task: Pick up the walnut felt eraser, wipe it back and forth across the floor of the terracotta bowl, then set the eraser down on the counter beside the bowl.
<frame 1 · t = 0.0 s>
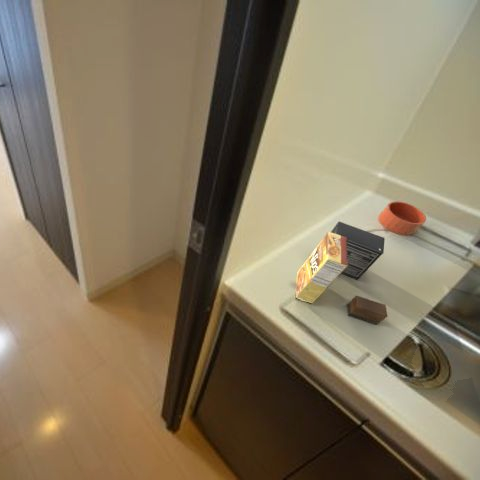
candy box: (303, 288, 80), on the countertop
small box: (337, 263, 85), on the countertop
bowl: (396, 223, 96), on the countertop
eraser: (361, 314, 75), on the countertop
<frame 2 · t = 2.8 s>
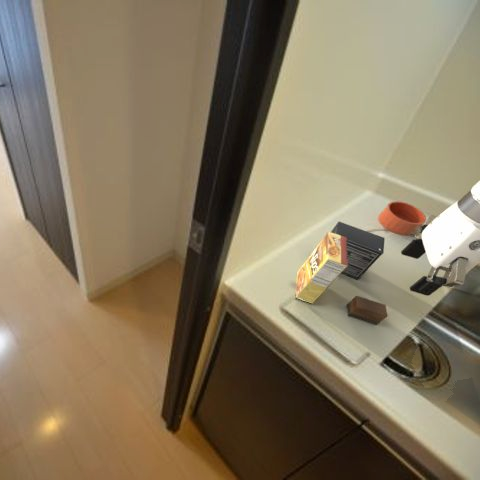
hand: (413, 272, 64), 15 cm above the countertop, tool pointing down, fingers open, 9 cm apart
nothing on the countertop moved.
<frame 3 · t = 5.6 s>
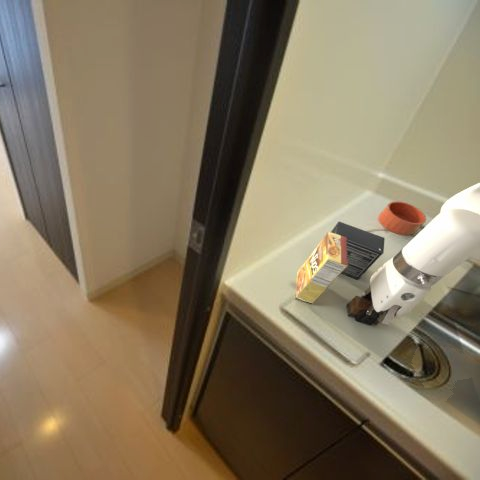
hand: (361, 314, 75), 0 cm above the countertop, tool pointing down, fingers closed on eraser, 3 cm apart
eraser: (361, 314, 75), on the countertop, touching gripper
everything else where it was.
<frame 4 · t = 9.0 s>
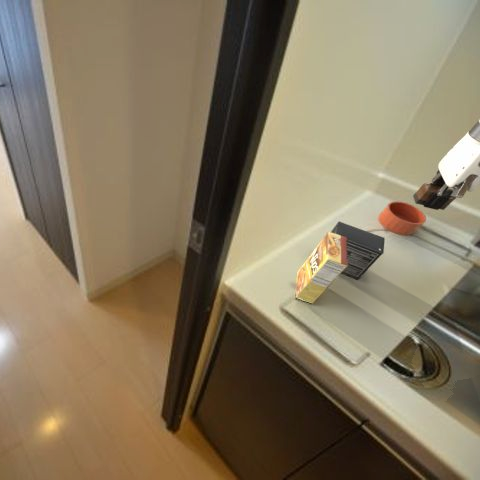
hand: (428, 202, 80), 15 cm above the countertop, tool pointing down, fingers closed on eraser, 3 cm apart
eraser: (427, 202, 80), point 15 cm above the countertop, touching gripper
everything else where it was.
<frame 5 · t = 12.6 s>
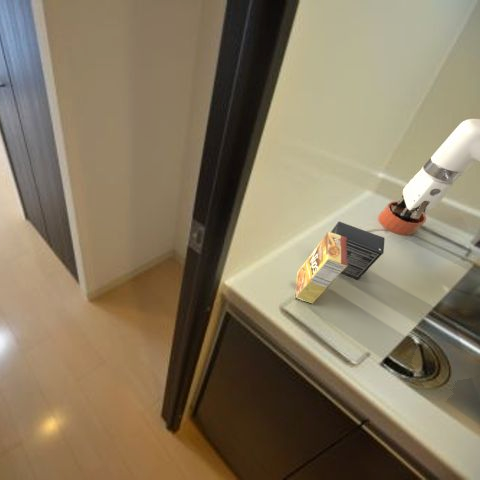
hand: (395, 220, 96), 1 cm above the countertop, tool pointing down, fingers closed on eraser, 3 cm apart
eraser: (394, 221, 96), point 1 cm above the countertop, touching gripper
everything else where it was.
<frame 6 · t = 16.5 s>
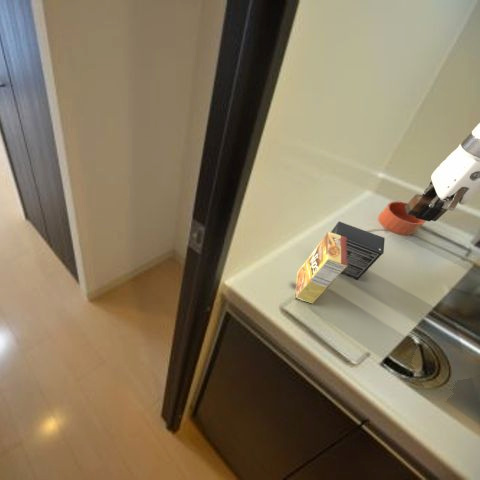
hand: (420, 213, 79), 14 cm above the countertop, tool pointing down, fingers closed on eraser, 3 cm apart
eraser: (419, 213, 79), point 14 cm above the countertop, touching gripper
everything else where it was.
when the fingers open (0 cm above the countertop, at t = 19.8 s): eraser stays where it is, on the countertop.
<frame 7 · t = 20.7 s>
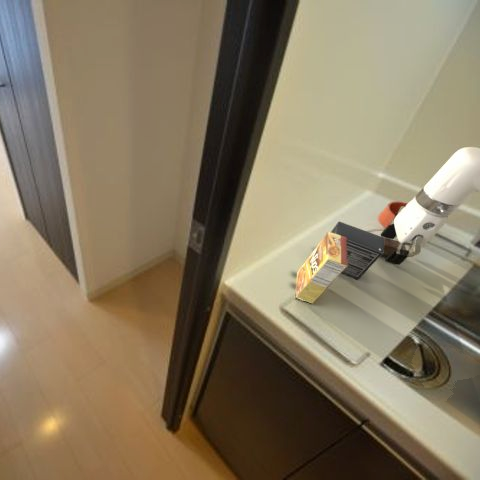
hand: (388, 249, 87), 2 cm above the countertop, tool pointing down, fingers open, 9 cm apart
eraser: (383, 253, 88), on the countertop
everything else where it was.
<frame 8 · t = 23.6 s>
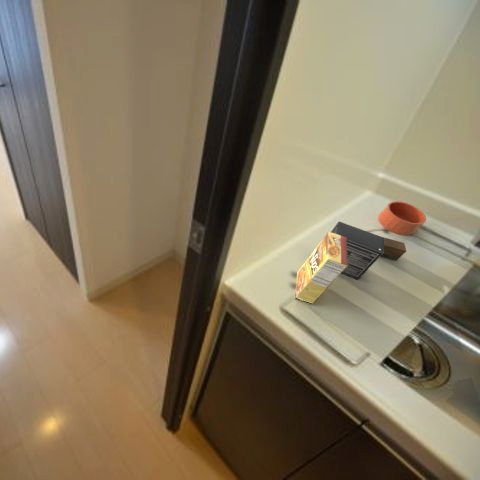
nothing on the countertop moved.
at the end: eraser 0.2 cm from the target spot, on the countertop; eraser tilted 0°; bowl moved 0.0 cm from its start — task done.
